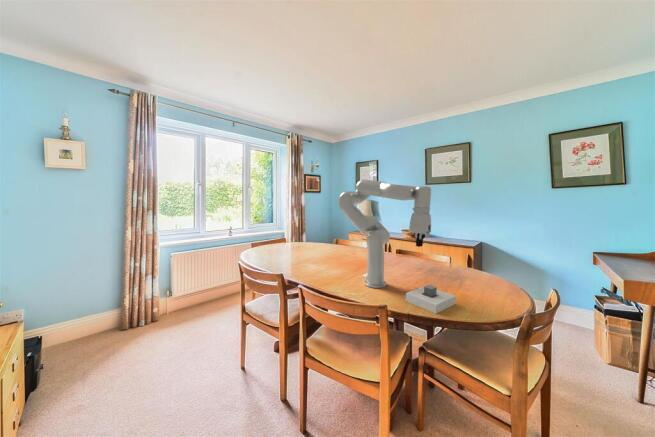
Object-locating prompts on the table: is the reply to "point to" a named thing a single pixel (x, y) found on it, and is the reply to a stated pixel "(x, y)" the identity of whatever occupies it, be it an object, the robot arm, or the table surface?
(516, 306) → the table surface
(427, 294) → the plug
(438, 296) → the socket housing
